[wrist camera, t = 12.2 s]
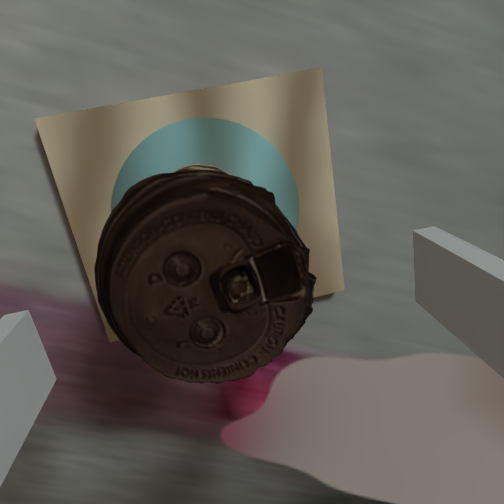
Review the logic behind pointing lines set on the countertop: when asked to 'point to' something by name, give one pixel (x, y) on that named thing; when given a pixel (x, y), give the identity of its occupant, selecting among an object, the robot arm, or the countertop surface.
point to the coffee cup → (202, 274)
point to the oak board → (204, 157)
